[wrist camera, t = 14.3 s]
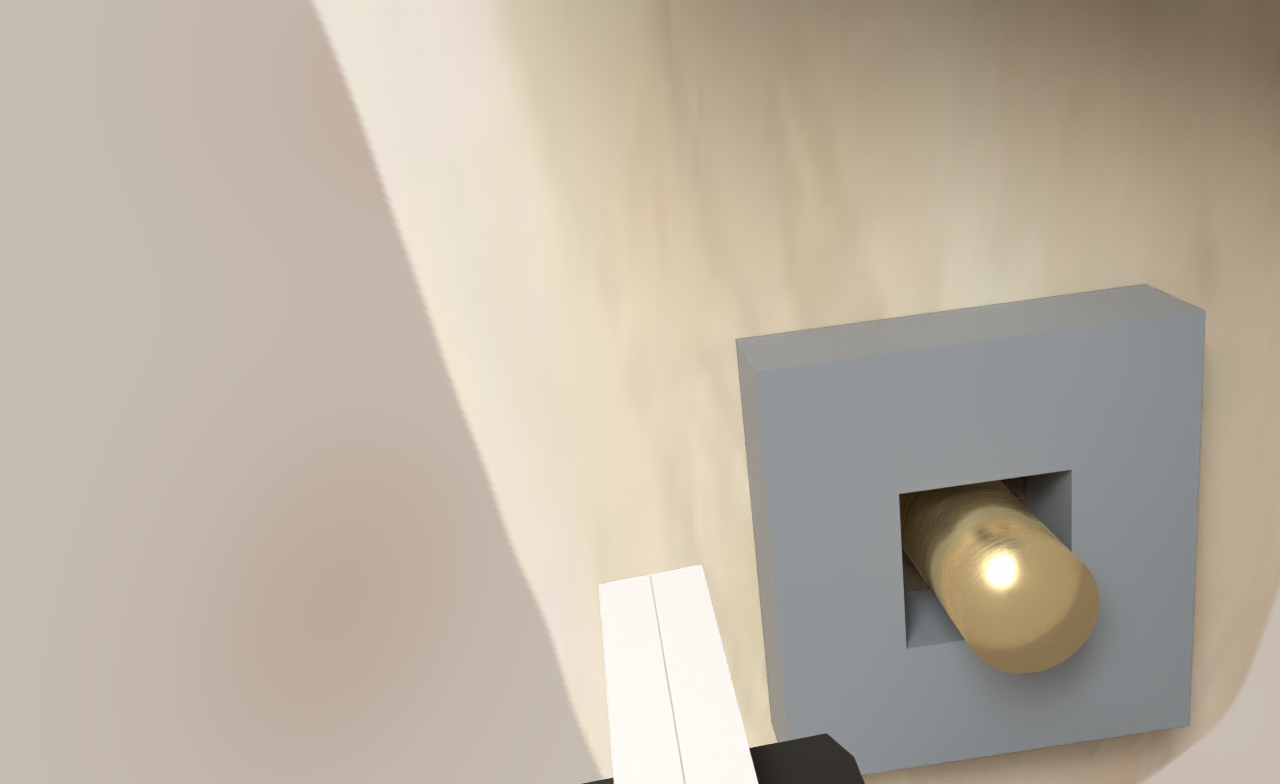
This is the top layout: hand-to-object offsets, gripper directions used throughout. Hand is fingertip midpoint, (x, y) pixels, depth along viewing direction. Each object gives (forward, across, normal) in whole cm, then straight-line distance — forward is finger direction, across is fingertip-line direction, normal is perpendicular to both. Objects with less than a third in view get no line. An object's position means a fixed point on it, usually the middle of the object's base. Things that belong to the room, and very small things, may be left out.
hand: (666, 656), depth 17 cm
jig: (+25, +11, -12) cm, 30 cm away
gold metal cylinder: (+25, +11, -12) cm, 30 cm away
